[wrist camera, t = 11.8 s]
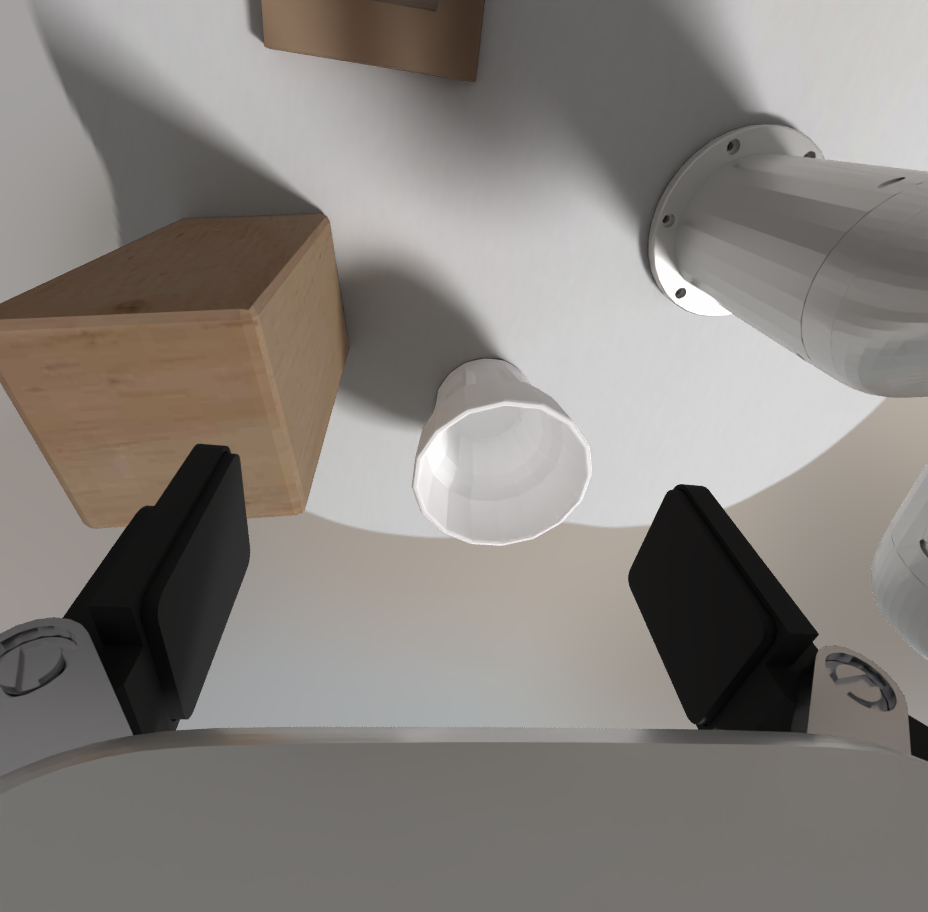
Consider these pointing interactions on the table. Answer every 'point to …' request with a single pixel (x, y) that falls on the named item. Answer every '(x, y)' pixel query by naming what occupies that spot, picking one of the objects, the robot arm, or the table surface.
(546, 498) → the cup
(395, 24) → the post base
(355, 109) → the table surface
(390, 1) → the collar
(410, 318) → the table surface
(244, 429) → the wooden block
